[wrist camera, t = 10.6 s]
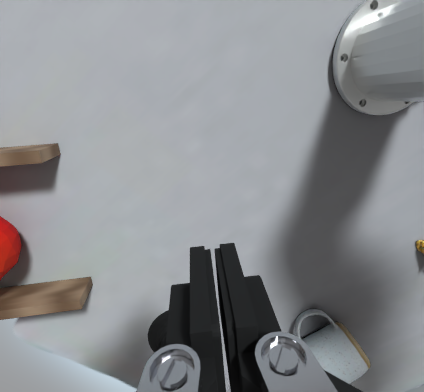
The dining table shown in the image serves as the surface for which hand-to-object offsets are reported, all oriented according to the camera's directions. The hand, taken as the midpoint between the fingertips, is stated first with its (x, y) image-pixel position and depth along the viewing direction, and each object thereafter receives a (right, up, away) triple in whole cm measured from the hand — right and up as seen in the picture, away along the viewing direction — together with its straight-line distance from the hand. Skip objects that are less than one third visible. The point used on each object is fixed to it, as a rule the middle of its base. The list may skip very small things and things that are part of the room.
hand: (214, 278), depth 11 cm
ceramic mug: (+16, -19, +34) cm, 42 cm away
